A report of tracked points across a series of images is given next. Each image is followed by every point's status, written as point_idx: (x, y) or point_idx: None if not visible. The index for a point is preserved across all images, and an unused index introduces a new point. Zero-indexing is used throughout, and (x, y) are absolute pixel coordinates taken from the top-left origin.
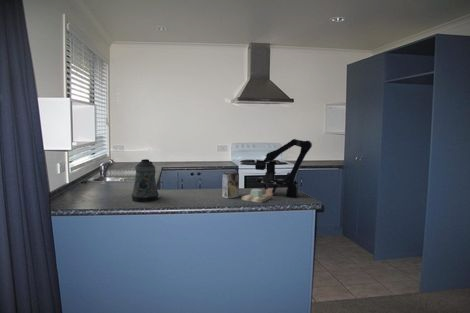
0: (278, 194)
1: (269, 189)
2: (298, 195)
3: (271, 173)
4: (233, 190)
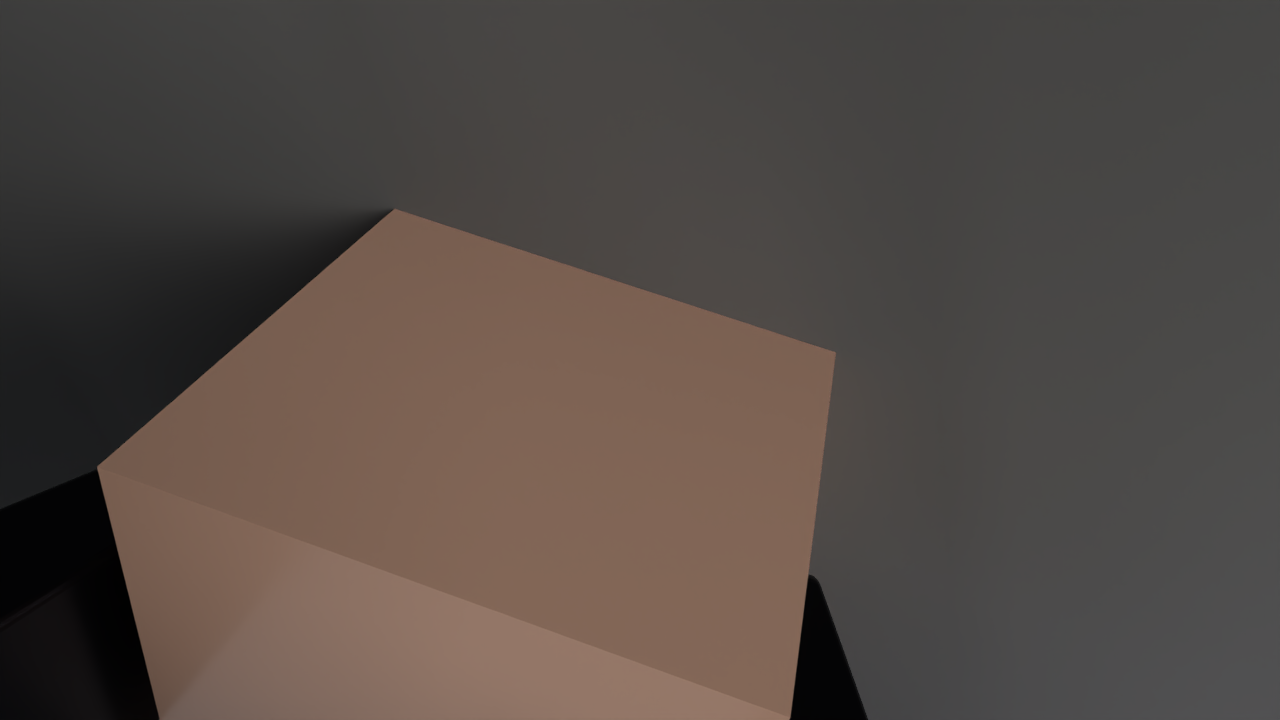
0: None
1: (413, 656)
2: None
3: None
4: None
